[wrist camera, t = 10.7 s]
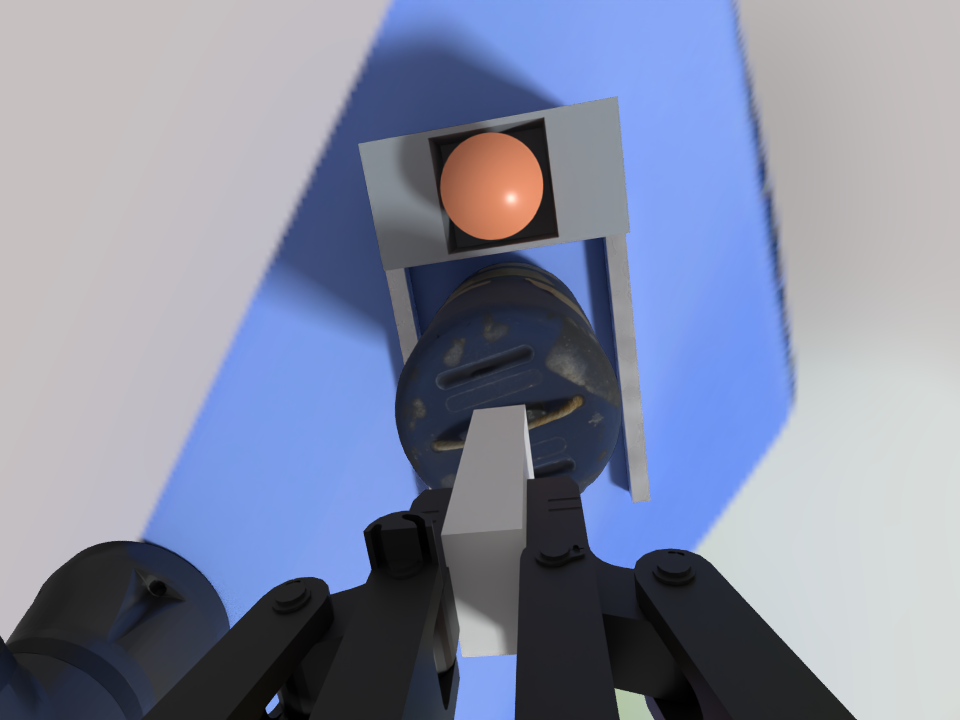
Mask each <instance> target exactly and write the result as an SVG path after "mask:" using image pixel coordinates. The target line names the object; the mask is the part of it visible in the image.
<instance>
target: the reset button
mask: <svg viewBox="0 0 960 720" xmlns="http://www.w3.org/2000/svg"><path fill="white" fill-rule="evenodd" d="M440 189H441V197H442V201H443V205H444V207H445V210H446V212H447V214H448V215H449V217H450V218H451V220H452V221H453V222H454V223H455V224H456V225H457V226H458V227H459V228H460V229H461V230H463V231H464V232H466V233H467V234H469V235H472V236H474V237H477V238H480V239H486V240H496V239H502V238H506V237H509V236H512V235H514V234H515V233H517V232H519V231H520V230H522V229H523V228H524V227H525V226H526V225H527V224H528V223H529V222H530V221H531V220H532V219H533V217H534V215H535V214H536V212H537V210H538V208H539V205H540V202H541V199H542V194H543V178H542V172H541V169H540V166H539V164H538V162H537V160H536V158H535V156H534V155H533V153H532V152H531V151H530V150H529V148H528V147H527V146H525V145H524V144H523V143H522V142H520V141H519V140H517V139H516V138H514V137H512V136H509V135H506V134H502V133H491V132H490V133H482V134H478V135H475V136H473V137H470V138H469V139H467V140H465V141H464V142H462V143H461V144H460V145H458V146H457V147H456V149H455V150H454V151H453V152H452V153H451V155H450V156H449V158H448V159H447V161H446V163H445V166H444V168H443V172H442V176H441V186H440Z"/></svg>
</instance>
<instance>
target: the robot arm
mask: <svg viewBox="0 0 960 720" xmlns="http://www.w3.org/2000/svg"><path fill="white" fill-rule="evenodd" d="M364 537H365V542H366V546H367V551H368V556H369V560H370V565H371V569H372V570H371V572H370V575H369V577H368V579H367V582H366V583H365V584H363V585H361V586H358V587H355V588H352V589H349V590H345V591H342V592H338V593H334V594H331V595H330V591H329V587H328V585H327V584H326V583H325V582H324V581H323V580H322V579H318V578H315V577H303V578H296V579H294V580H293V579H292V580H289V581H286V582H284V583H283V584H281V585H278V586H276V587H274V588H273V589H272V590H270V591H269V592H268V593H267V594H265V595H264V596H263V597H262V598H261V599H260V600H259V601H258V602H257V603H256V604H255V605H254V606H253V607H252V608H251V609H250V610H249V611H248V612H247V613H246V614H245V615H244V616H243V617H242V618H241V619H240V620H239V621H238V622H237V623H236V624H235V625H234V626H233V627H232V628H231V629H230V626H229V620H228V617H227V613H226V610H225V608H224V605H223V603H222V601H221V599H220V598H219V596H218V594H217V593H216V591H215V590H214V588H213V587H212V585H211V584H210V583H209V582H208V581H207V580H206V578H205V577H204V576H203V575H202V574H201V573H200V572H198V571H197V570H196V569H195V568H194V567H193V566H191V565H190V564H189V563H187V562H186V561H184V560H183V559H181V558H180V557H178V556H176V555H174V554H172V553H170V552H168V551H166V550H164V549H161V548H158V547H155V546H152V545H149V544H145V543H140V542H133V541H112V542H105V543H101V544H97V545H94V546H91V547H89V548H87V549H85V550H83V551H81V552H80V553H78V554H77V555H75V556H74V557H73V558H71V559H70V560H69V561H68V562H67V563H65V564H64V565H63V566H61V567H60V568H59V569H58V570H56V571H55V572H54V573H53V574H52V575H51V576H50V577H49V578H48V579H47V581H46V582H45V583H44V584H43V586H42V587H41V589H40V591H39V593H38V595H37V596H36V598H35V600H34V602H33V604H32V605H31V606H30V608H29V609H28V611H27V612H26V614H25V615H24V617H23V618H22V619H21V621H20V622H19V624H18V625H17V627H16V629H15V630H14V631H13V633H12V635H11V636H10V637H9V639H8V640H7V642H6V643H4V641H3V639H2V638H1V636H0V720H454V715H455V708H456V701H457V694H458V687H459V680H460V677H459V668H458V662H457V657H456V652H457V645H458V639H459V640H460V645H461V651H462V657H477V656H495V655H514V654H517V666H516V697H515V720H620V719H619V713H618V708H617V702H616V695H615V689H614V688H616V689H620V690H625V691H629V692H633V693H637V694H642V695H644V696H645V700H646V704H647V707H648V709H649V711H650V712H651V714H652V716H653V718H654V720H857V719H855V717H854V716H853V715H852V714H851V713H850V712H849V711H848V710H847V709H846V708H845V707H844V705H843V704H842V703H841V702H840V701H839V700H838V699H837V698H836V697H835V696H834V695H833V694H832V693H831V692H830V690H828V688H827V687H826V686H825V685H824V684H823V683H822V682H821V681H820V680H819V679H818V678H817V677H816V675H815V674H814V673H813V672H812V671H811V670H810V669H809V668H808V667H807V666H806V665H805V664H804V663H803V662H802V660H801V659H800V658H799V657H798V656H797V655H796V654H795V653H794V652H793V651H792V650H791V649H790V648H789V647H788V646H787V644H786V643H785V642H784V641H783V640H782V639H781V638H780V637H779V636H778V635H777V634H776V633H775V632H774V631H773V629H772V628H771V627H770V626H769V625H768V624H767V623H766V622H765V621H764V620H763V619H762V618H761V617H760V615H759V614H758V613H757V612H756V611H755V610H754V609H753V608H752V607H751V606H750V605H749V604H748V603H747V602H746V600H745V599H744V598H742V596H741V595H740V594H739V593H738V592H737V591H736V590H735V589H734V588H733V587H732V586H731V585H730V583H729V582H728V581H727V580H726V579H725V578H724V577H723V576H722V575H721V574H720V573H719V572H718V571H717V569H716V568H715V567H714V566H713V565H712V564H711V563H710V562H708V561H707V560H706V559H704V558H703V557H702V556H700V555H698V554H695V553H692V552H689V551H687V550H680V549H661V550H655V551H653V552H650V553H647V554H645V555H643V556H642V557H641V558H640V559H639V560H638V561H637V562H636V565H635V568H634V569H630V568H623V567H619V566H614V565H611V564H609V563H606V562H604V561H602V560H601V559H599V558H598V557H596V556H595V555H594V554H593V553H592V551H591V550H590V547H589V545H588V539H587V533H586V527H585V521H584V515H583V509H582V503H581V497H580V491H579V485H578V484H577V483H576V482H575V481H573V480H572V479H571V478H570V477H569V476H558V477H546V478H535V479H534V472H533V464H532V457H531V449H530V441H529V433H528V425H527V417H526V409H525V405H516V406H506V407H497V408H487V409H477V410H474V411H473V415H472V419H471V422H470V426H469V430H468V434H467V438H466V441H465V445H464V449H463V453H462V457H461V460H460V464H459V468H458V472H457V476H456V480H455V483H454V487H451V488H440V489H429V490H425V491H423V492H422V493H421V494H420V495H419V496H418V497H417V498H416V499H415V500H414V501H413V503H412V505H411V508H410V510H409V511H400V512H395V513H391V514H388V515H385V516H383V517H380V518H378V519H377V520H375V521H374V522H372V523H371V524H369V526H368V527H367V528H366V529H365V530H364ZM276 693H277V695H278V698H279V703H278V704H277V706H276V707H275V708H274V710H273V711H271V712H270V713H269V714H267V712H266V709H265V708H266V706H267V705H268V704H269V702H270V701H271V700H272V699H273V697H274V696H275V695H276Z"/></svg>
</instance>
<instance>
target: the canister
mask: <svg viewBox="0 0 960 720" xmlns="http://www.w3.org/2000/svg"><path fill="white" fill-rule="evenodd" d="M516 405H525V409H526V417H527V425H528V433H529V441H530V449H531V457H532V464H533V472H534V479H535V478H546V477H558V476H569V477H570V478H571V479H572V480H573V481H575V482H576V483H577V484H578V485H579V491H580V494H581V493H582V492H583V491H584V490H585V488H586V487H587V486H589V485H590V484H591V483H593V482H594V481H595V479H596V478H597V477H598V476H599V475H600V474H601V472H602V471H603V469H604V468H605V466H606V464H607V462H608V461H609V459H610V457H611V455H612V453H613V451H614V448H615V446H616V443H617V440H618V435H619V430H620V423H621V396H620V391H619V386H618V382H617V379H616V376H615V373H614V370H613V368H612V365H611V363H610V361H609V359H608V357H607V355H606V353H605V352H604V350H603V348H602V347H601V345H600V343H599V341H598V339H597V338H596V336H595V334H594V331H593V329H592V327H591V324H590V322H589V320H588V319H587V317H586V315H585V313H584V311H583V310H582V308H581V306H580V305H579V303H578V302H577V300H576V298H575V297H574V295H573V294H572V292H571V291H570V290H569V288H568V287H567V286H566V285H565V284H564V283H563V282H562V281H561V280H559V279H558V278H557V277H556V276H555V275H553V274H551V273H550V272H548V271H546V270H543V269H541V268H539V267H536V266H533V265H530V264H525V263H518V262H506V263H499V264H495V265H491V266H488V267H485V268H483V269H481V270H479V271H477V272H475V273H474V274H472V275H471V276H469V277H468V278H467V279H466V280H464V281H463V282H462V283H461V284H460V285H459V286H458V287H457V288H456V290H455V291H454V292H453V294H451V295H450V297H449V298H448V300H447V301H446V302H445V304H444V305H443V306H442V307H441V308H440V310H439V311H438V312H437V314H436V315H435V317H434V318H433V320H432V321H431V323H430V324H429V326H428V328H427V329H426V331H425V332H424V333H423V335H422V336H421V338H420V339H419V341H418V342H417V344H416V346H415V347H414V349H413V351H412V352H411V354H410V356H409V358H408V359H407V361H406V363H405V365H404V368H403V370H402V373H401V375H400V378H399V382H398V387H397V392H396V401H395V418H396V425H397V430H398V434H399V438H400V442H401V444H402V447H403V449H404V452H405V454H406V456H407V458H408V460H409V461H410V463H411V465H412V466H413V468H414V469H415V471H416V472H417V473H418V475H419V476H420V477H421V479H422V480H423V481H424V482H425V483H426V484H427V485H428V486H429V487H430V488H431V489H440V488H451V487H454V483H455V480H456V476H457V472H458V468H459V464H460V460H461V457H462V453H463V449H464V445H465V441H466V438H467V434H468V430H469V426H470V422H471V419H472V415H473V411H474V410H477V409H487V408H497V407H506V406H516Z"/></svg>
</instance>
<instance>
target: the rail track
mask: <svg viewBox="0 0 960 720" xmlns="http://www.w3.org/2000/svg"><path fill="white" fill-rule="evenodd" d="M603 245H604V254H605V264H606V273H607V283H608V293H609V302H610V312H611V322H612V331H613V341H614V351H615V360H616V370H617V380H618V386H619V391H620V396H621V418H622V428H623V437H624V447H625V457H626V466H627V476H628V486H629V493H630V496H631V499H632V502H633V503H634V502H644V501H650V490H649V480H648V469H647V458H646V448H645V437H644V426H643V416H642V405H641V394H640V384H639V373H638V362H637V352H636V341H635V330H634V320H633V309H632V298H631V288H630V277H629V266H628V256H627V245H626V234H619V235H613V236H606V237H603ZM386 276H387V281H388V286H389V291H390V296H391V301H392V306H393V311H394V316H395V321H396V326H397V331H398V336H399V341H400V346H401V351H402V356H403V361H404V365H405V363H406V361H407V359H408V358H409V356H410V354H411V352H412V351H413V349H414V347H415V346H416V344H417V342H418V341H419V339H420V338H421V330H420V325H419V320H418V315H417V309H416V304H415V299H414V294H413V288H412V283H411V278H410V273H409V267H407V268H400V269H394V270H388V271H386ZM429 489H431V488H430V487H429Z"/></svg>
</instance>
